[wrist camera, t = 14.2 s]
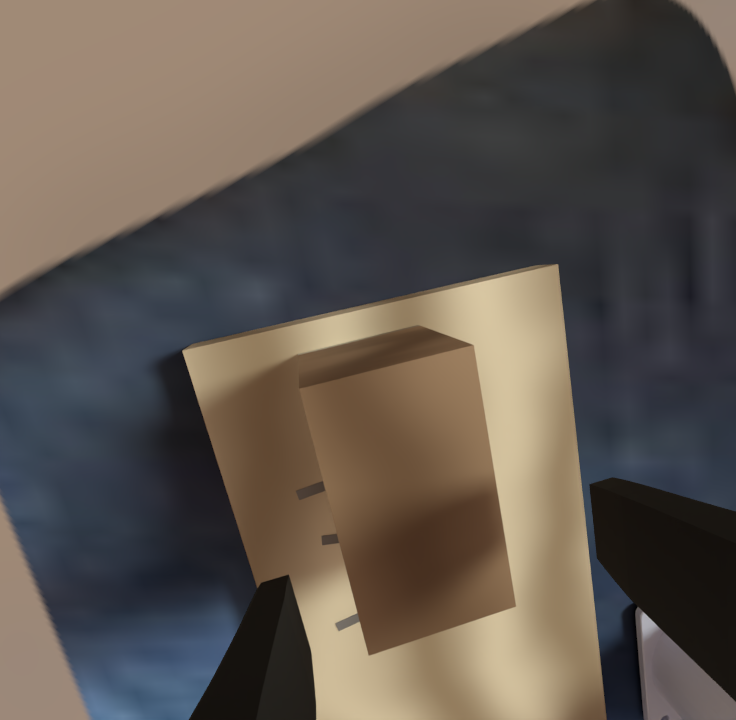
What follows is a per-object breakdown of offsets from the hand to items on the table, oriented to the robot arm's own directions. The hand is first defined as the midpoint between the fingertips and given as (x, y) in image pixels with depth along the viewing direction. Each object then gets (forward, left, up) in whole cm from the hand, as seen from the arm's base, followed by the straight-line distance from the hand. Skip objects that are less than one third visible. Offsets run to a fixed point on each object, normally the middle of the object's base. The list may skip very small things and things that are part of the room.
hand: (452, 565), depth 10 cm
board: (-1, +7, -8) cm, 11 cm away
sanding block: (0, 0, -7) cm, 7 cm away
